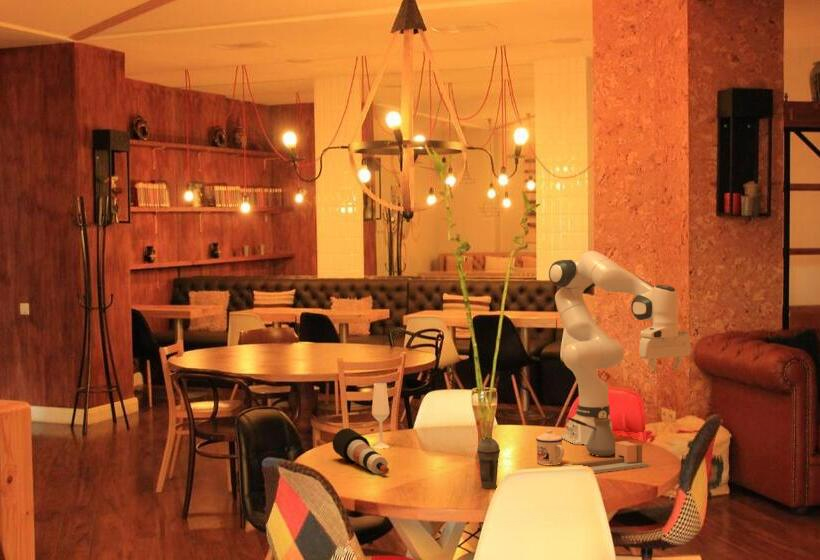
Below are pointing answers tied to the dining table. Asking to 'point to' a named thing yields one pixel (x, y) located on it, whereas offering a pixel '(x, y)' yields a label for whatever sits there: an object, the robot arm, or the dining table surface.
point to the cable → (358, 451)
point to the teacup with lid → (549, 448)
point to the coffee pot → (599, 437)
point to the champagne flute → (380, 409)
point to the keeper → (626, 451)
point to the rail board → (613, 463)
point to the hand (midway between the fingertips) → (665, 370)
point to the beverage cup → (488, 461)
